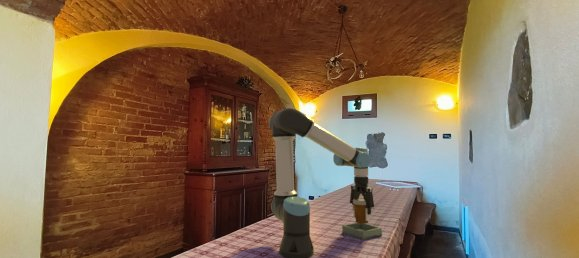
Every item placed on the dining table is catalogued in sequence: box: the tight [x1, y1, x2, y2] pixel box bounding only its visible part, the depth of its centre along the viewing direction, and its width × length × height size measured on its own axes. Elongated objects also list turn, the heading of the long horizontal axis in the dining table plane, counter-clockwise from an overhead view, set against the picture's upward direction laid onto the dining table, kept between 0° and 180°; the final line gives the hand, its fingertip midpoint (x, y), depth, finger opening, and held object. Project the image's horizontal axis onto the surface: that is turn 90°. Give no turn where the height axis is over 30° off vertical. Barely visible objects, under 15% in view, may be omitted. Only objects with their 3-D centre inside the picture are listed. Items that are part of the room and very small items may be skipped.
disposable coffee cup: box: [353, 197, 369, 224], centre depth 158 cm, size 10×10×12 cm
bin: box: [341, 222, 383, 241], centre depth 157 cm, size 14×15×4 cm
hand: (361, 218), depth 157 cm, fingers closed on disposable coffee cup, 8 cm apart
